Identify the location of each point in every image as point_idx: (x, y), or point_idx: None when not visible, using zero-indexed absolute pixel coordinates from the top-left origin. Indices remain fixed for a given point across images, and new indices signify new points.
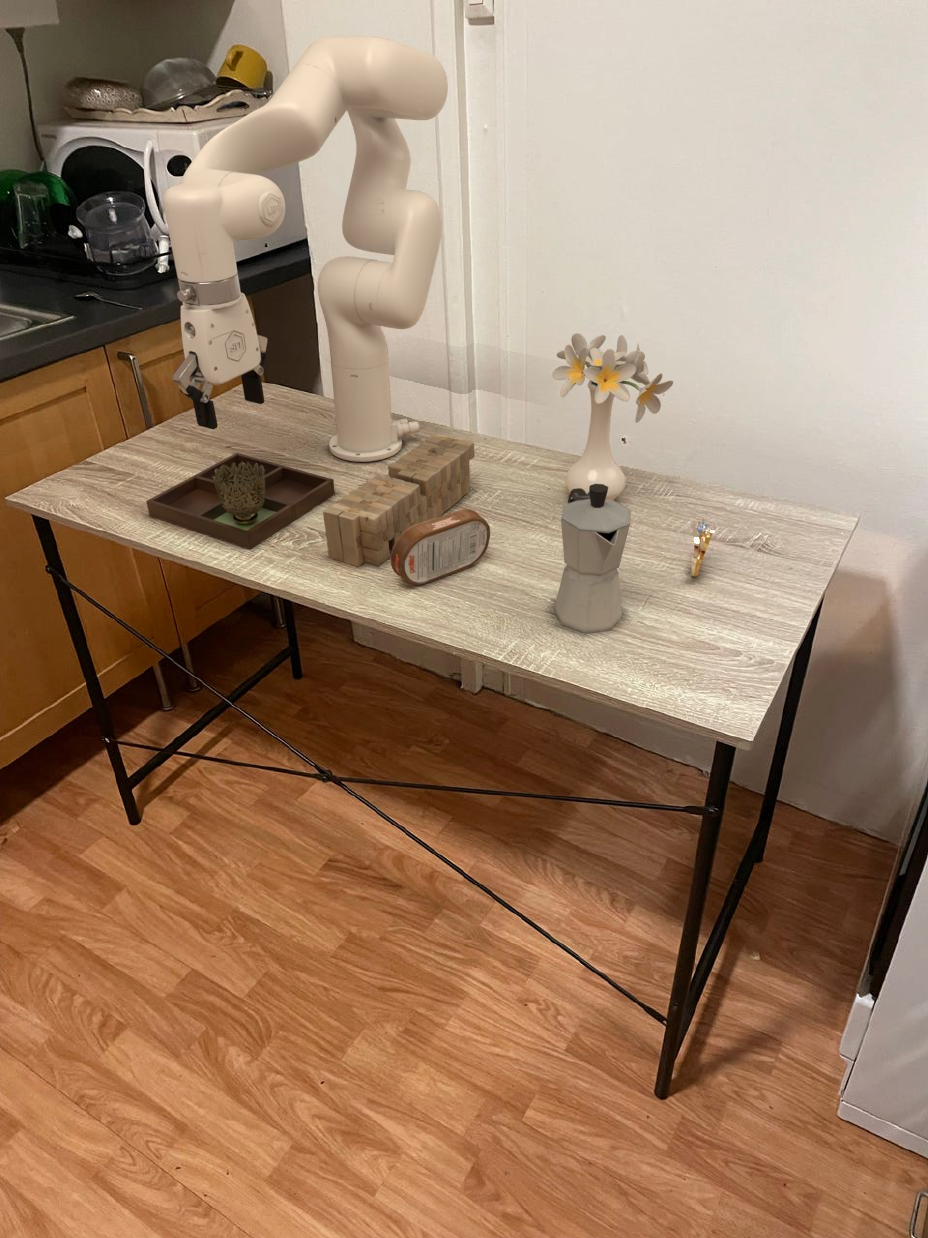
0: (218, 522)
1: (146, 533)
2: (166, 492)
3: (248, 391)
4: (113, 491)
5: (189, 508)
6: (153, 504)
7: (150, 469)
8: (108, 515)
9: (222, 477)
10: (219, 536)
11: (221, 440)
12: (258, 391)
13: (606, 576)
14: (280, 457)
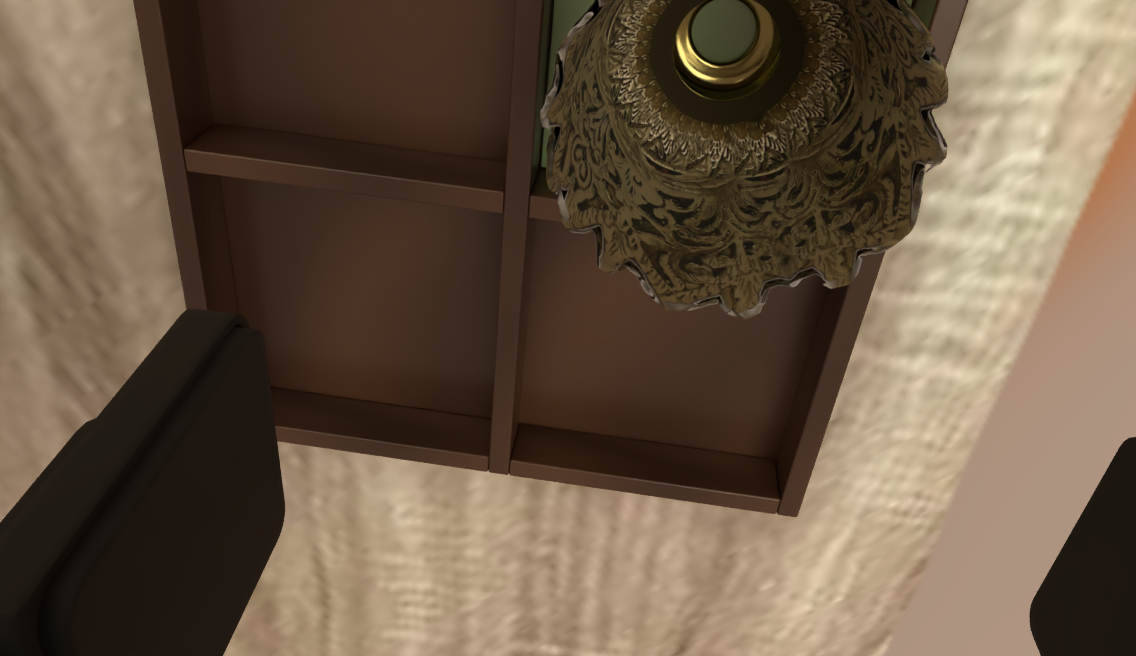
0: None
1: (935, 402)
2: (693, 488)
3: (228, 562)
4: (656, 649)
5: (695, 358)
6: (808, 480)
7: (453, 631)
8: (831, 582)
9: (706, 263)
10: None
11: None
12: (184, 443)
13: None
14: (47, 276)
